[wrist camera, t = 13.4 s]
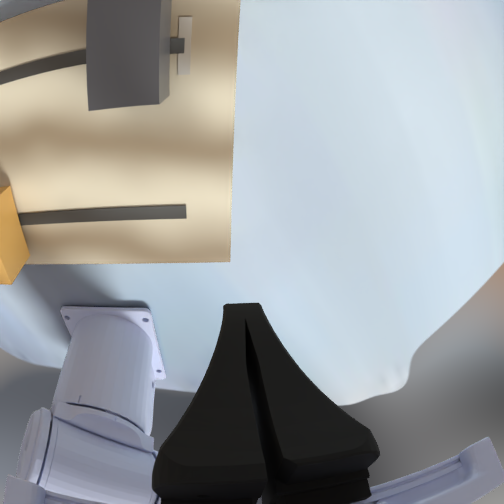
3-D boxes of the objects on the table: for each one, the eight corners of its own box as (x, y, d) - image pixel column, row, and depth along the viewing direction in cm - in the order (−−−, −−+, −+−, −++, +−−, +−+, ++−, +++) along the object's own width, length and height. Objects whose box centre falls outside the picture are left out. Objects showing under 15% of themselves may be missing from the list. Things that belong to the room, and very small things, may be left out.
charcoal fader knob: (169, 95, 14) (159, 104, 11) (109, 100, 13) (88, 111, 11) (171, -2, 11) (162, -15, 8) (109, 5, 11) (87, -4, 8)
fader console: (228, 244, 22) (230, 262, 20) (-55, 251, 19) (-67, 264, 17) (238, -11, 13) (241, -20, 11) (-93, 79, 10) (-110, 85, 8)
